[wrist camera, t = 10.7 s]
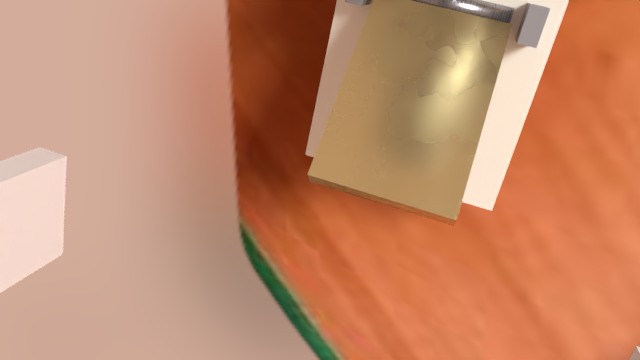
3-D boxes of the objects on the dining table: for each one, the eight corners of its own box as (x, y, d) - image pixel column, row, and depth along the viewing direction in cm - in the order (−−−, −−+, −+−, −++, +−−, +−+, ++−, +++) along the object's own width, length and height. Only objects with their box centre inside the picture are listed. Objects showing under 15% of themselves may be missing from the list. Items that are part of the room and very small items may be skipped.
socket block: (405, -213, 27) (381, -270, 21) (618, -179, 25) (661, -231, 19) (329, 131, 34) (294, 165, 28) (491, 178, 32) (491, 225, 26)
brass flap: (382, -13, 25) (383, -28, 24) (512, 17, 24) (518, 3, 23) (309, 181, 23) (307, 173, 22) (453, 226, 21) (456, 219, 20)
